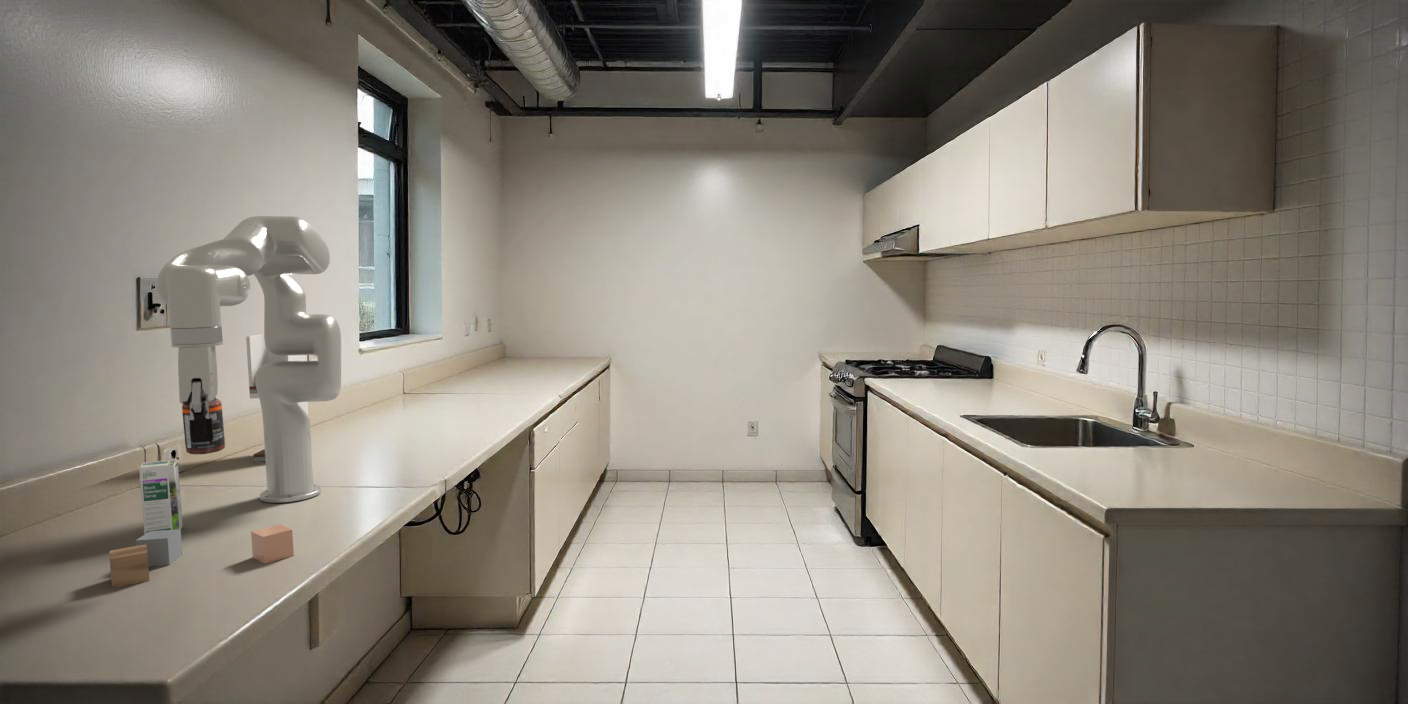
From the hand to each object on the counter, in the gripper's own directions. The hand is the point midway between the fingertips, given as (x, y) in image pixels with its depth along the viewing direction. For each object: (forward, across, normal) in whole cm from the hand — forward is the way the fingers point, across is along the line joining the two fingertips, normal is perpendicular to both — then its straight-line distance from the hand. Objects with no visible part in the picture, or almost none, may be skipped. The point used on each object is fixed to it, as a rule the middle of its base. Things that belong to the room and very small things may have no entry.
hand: (204, 436), depth 136 cm
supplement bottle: (+3, 0, 0) cm, 3 cm away
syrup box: (+23, -21, -10) cm, 33 cm away
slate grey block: (+23, -3, -8) cm, 24 cm away
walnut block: (+23, +5, -12) cm, 26 cm away
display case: (+24, -86, +8) cm, 90 cm away
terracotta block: (+23, +4, +10) cm, 25 cm away
